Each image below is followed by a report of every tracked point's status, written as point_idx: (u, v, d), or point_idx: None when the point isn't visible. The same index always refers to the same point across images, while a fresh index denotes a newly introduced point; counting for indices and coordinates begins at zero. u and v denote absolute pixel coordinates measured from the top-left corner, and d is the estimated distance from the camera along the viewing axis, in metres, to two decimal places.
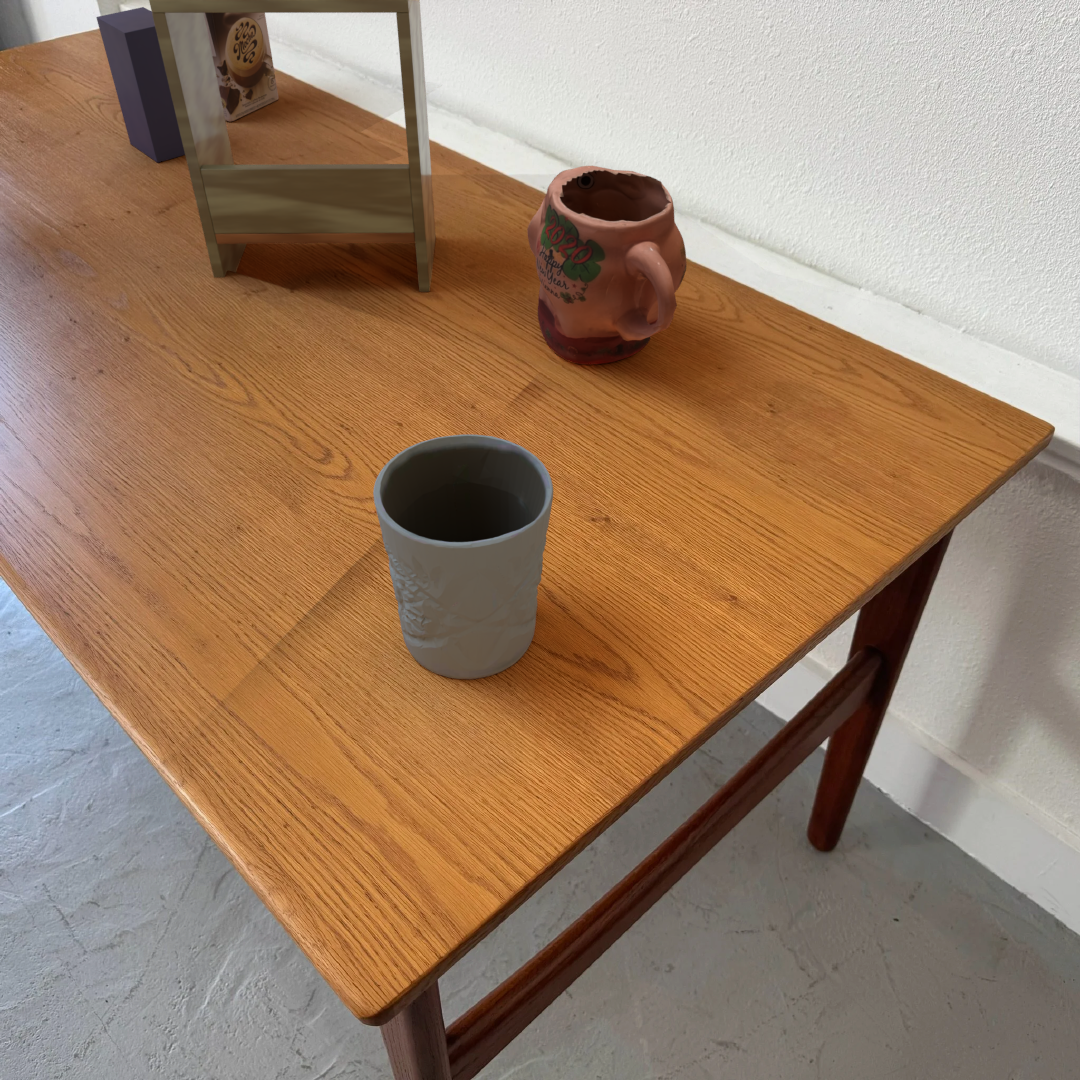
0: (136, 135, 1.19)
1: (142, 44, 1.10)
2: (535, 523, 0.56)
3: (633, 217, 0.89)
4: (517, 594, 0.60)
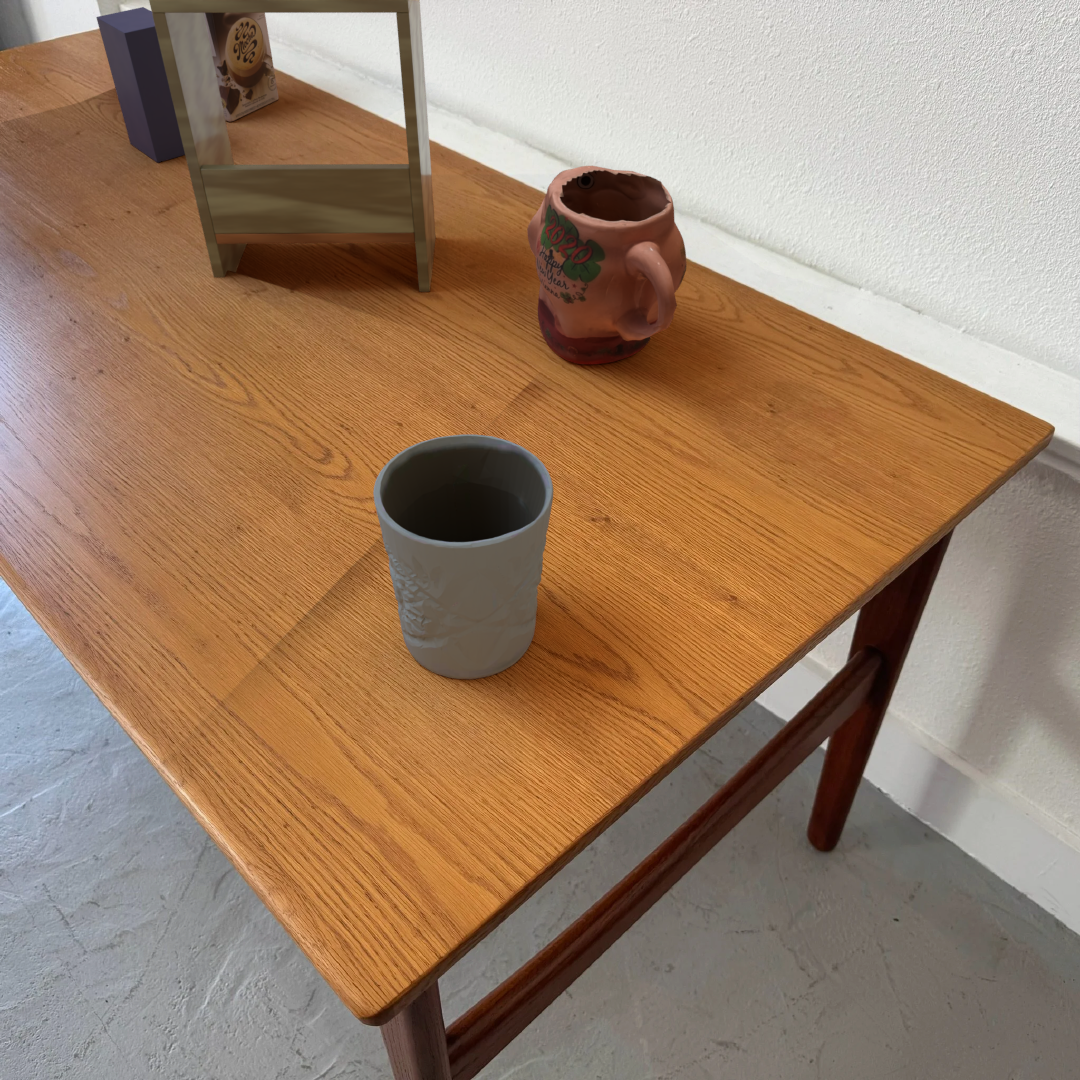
0: (136, 135, 1.19)
1: (142, 44, 1.10)
2: (535, 523, 0.56)
3: (633, 217, 0.89)
4: (517, 594, 0.60)
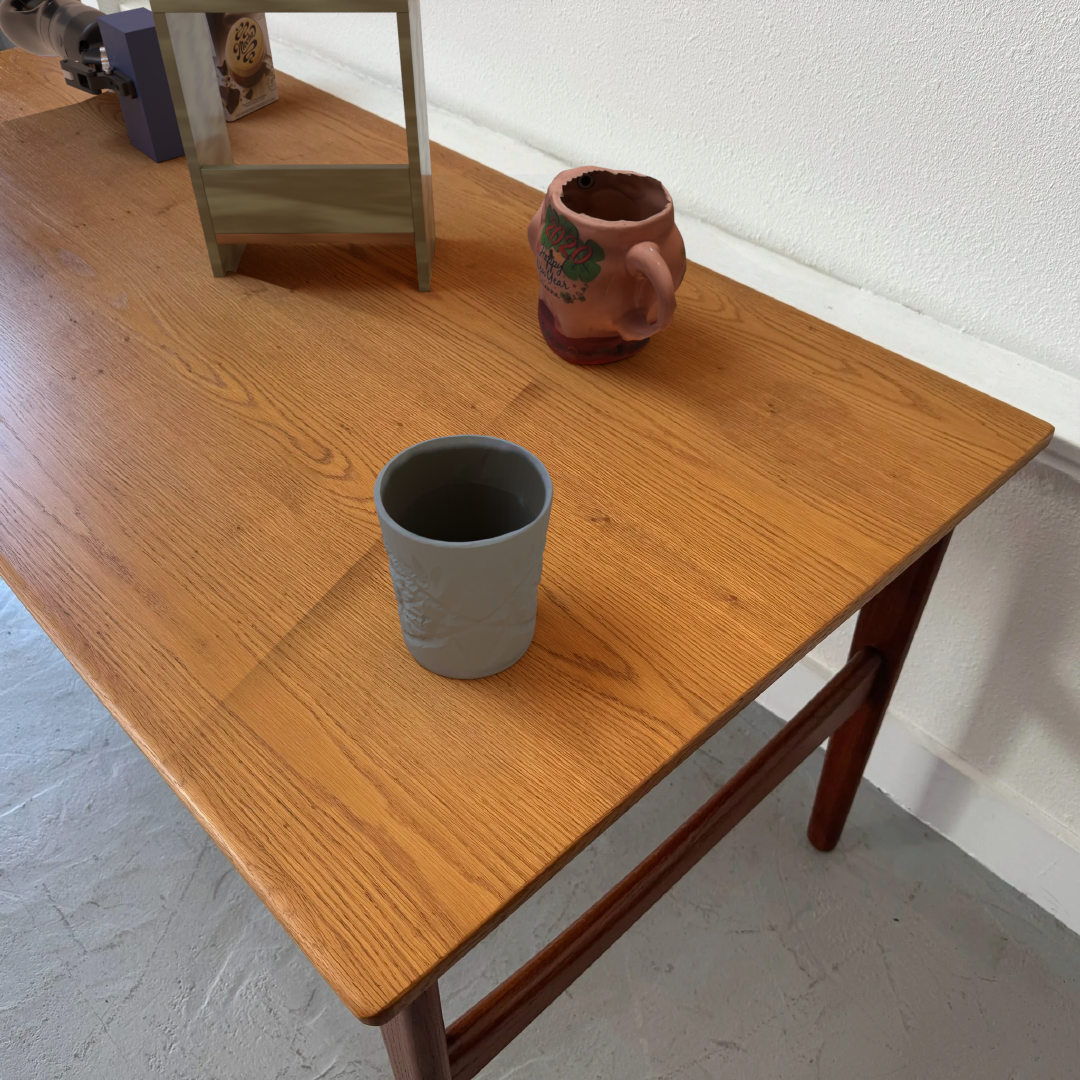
0: (136, 135, 1.19)
1: (142, 44, 1.10)
2: (535, 523, 0.56)
3: (633, 217, 0.89)
4: (517, 594, 0.60)
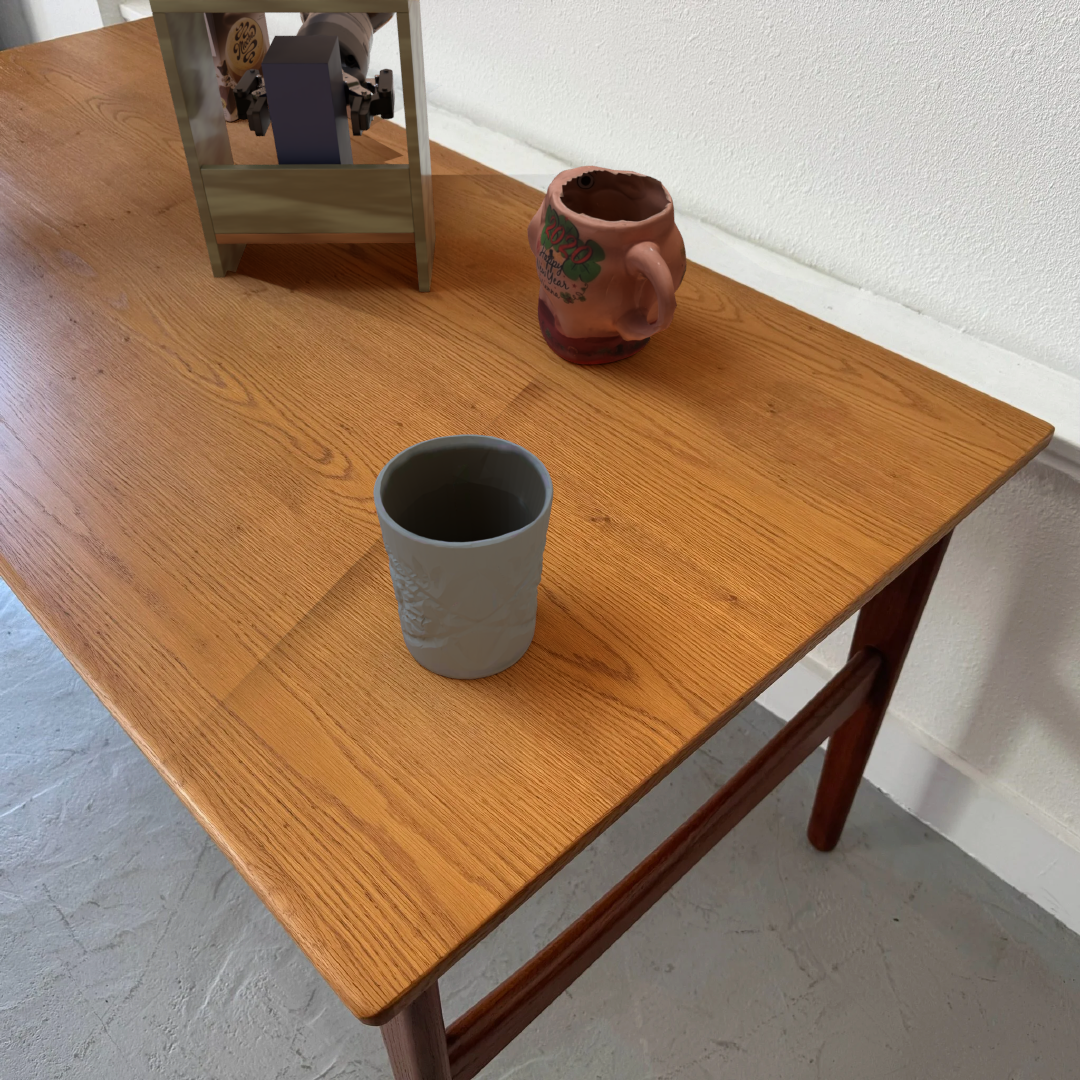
0: None
1: (283, 81, 0.86)
2: (535, 523, 0.56)
3: (633, 217, 0.89)
4: (517, 594, 0.60)
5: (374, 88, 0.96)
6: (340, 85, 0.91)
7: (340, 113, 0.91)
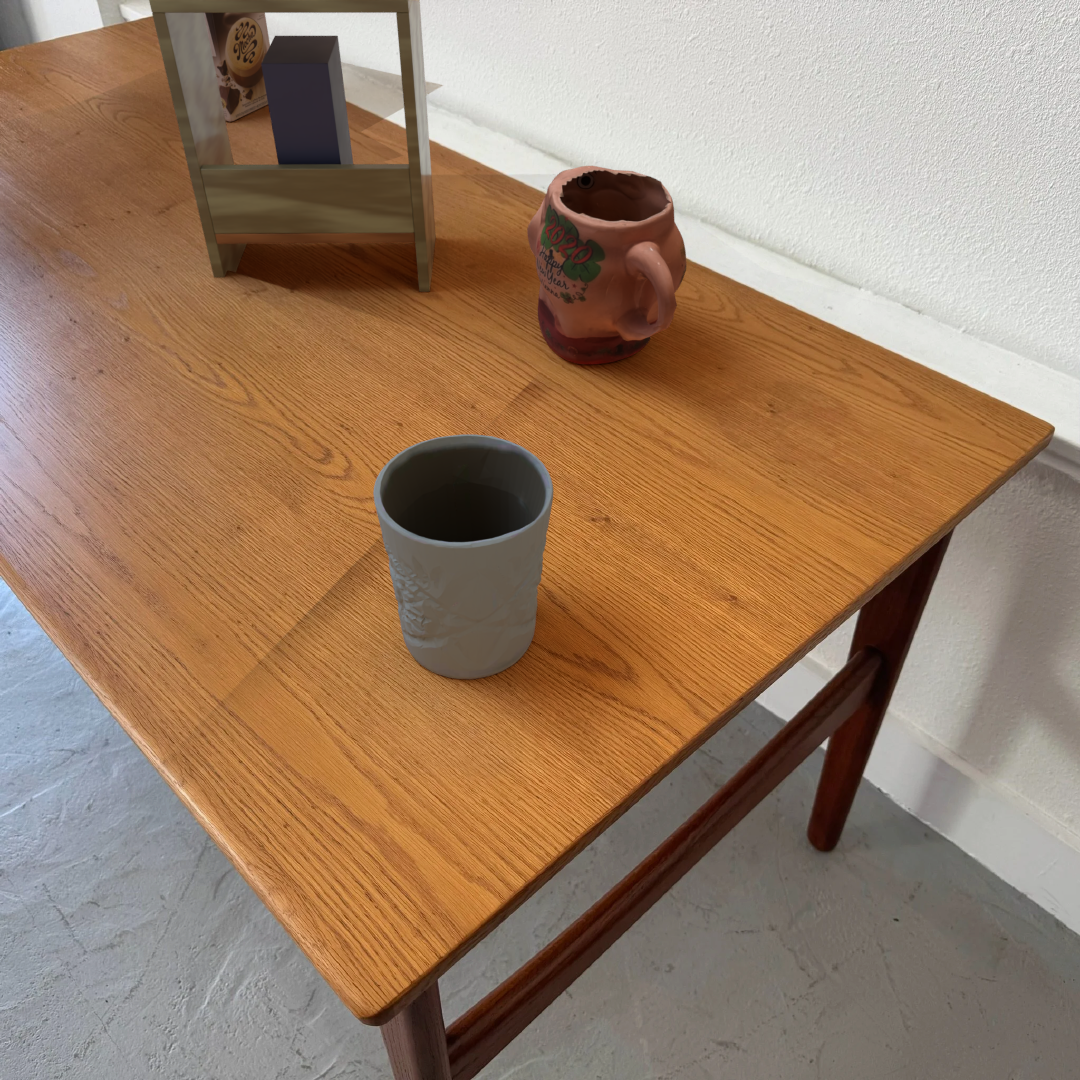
0: None
1: (283, 81, 0.86)
2: (535, 523, 0.56)
3: (633, 217, 0.89)
4: (517, 594, 0.60)
5: None
6: (340, 85, 0.91)
7: (340, 113, 0.91)
